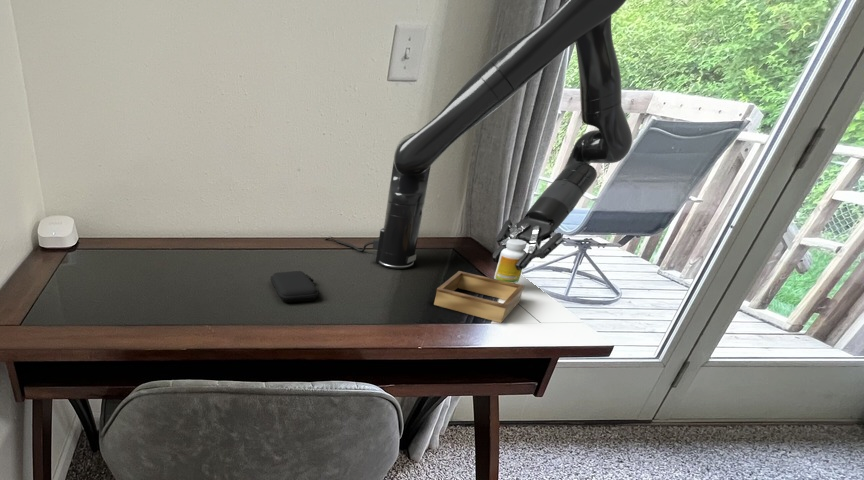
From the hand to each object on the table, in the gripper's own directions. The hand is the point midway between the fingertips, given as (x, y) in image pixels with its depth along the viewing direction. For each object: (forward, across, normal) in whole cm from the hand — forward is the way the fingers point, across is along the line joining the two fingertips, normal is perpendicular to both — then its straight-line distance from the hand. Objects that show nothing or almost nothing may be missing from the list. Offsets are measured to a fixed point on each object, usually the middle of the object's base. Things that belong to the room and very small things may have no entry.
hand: (506, 264), depth 113 cm
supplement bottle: (+2, 0, +5) cm, 5 cm away
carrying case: (+35, -25, -26) cm, 50 cm away
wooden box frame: (+12, +2, -3) cm, 13 cm away
